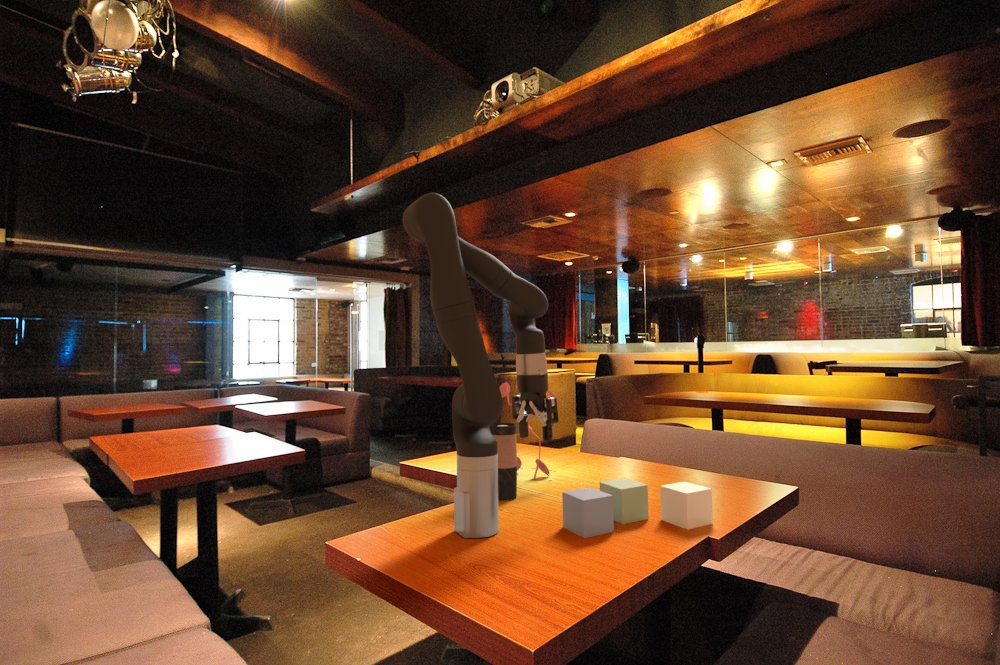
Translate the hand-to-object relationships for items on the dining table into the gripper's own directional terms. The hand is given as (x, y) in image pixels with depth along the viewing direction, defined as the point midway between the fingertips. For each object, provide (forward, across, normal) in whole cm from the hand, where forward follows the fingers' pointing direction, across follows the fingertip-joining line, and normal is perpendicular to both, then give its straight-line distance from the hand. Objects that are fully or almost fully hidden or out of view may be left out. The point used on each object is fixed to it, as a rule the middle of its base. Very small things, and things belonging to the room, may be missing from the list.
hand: (535, 439), depth 124 cm
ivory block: (+20, +24, +24) cm, 39 cm away
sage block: (+20, +12, +16) cm, 28 cm away
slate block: (+19, +13, +3) cm, 23 cm away
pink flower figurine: (+20, -36, +30) cm, 51 cm away
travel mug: (+19, -20, +4) cm, 28 cm away
